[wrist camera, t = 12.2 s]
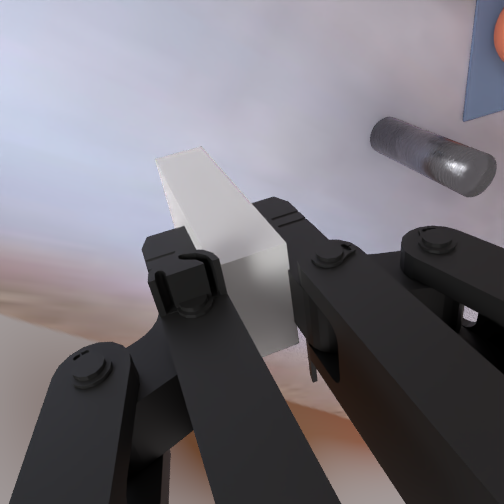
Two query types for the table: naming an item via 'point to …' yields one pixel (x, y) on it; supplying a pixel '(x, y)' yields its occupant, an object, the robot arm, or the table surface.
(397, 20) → the table surface
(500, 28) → the ball
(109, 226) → the table surface
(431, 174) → the post
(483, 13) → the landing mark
